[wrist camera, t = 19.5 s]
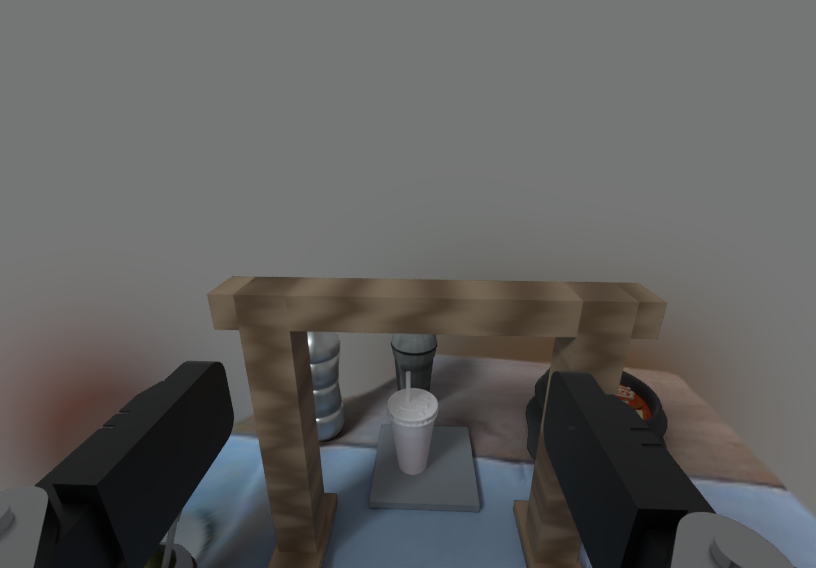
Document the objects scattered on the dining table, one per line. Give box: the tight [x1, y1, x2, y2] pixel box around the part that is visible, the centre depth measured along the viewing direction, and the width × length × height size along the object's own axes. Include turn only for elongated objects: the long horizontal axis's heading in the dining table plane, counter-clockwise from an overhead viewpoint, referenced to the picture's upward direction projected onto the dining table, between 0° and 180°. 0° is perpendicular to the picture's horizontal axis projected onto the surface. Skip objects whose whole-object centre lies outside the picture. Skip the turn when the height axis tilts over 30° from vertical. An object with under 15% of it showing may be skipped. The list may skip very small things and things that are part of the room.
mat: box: [369, 424, 480, 512], centre depth 50 cm, size 13×13×1 cm
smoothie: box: [387, 371, 439, 475], centre depth 47 cm, size 6×6×14 cm
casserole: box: [526, 368, 667, 460], centre depth 54 cm, size 25×19×8 cm
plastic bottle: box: [307, 332, 345, 441], centre depth 53 cm, size 6×7×20 cm
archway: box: [207, 276, 667, 568], centre depth 35 cm, size 34×10×30 cm, turn 88°
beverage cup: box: [391, 333, 437, 392], centre depth 59 cm, size 7×7×20 cm
